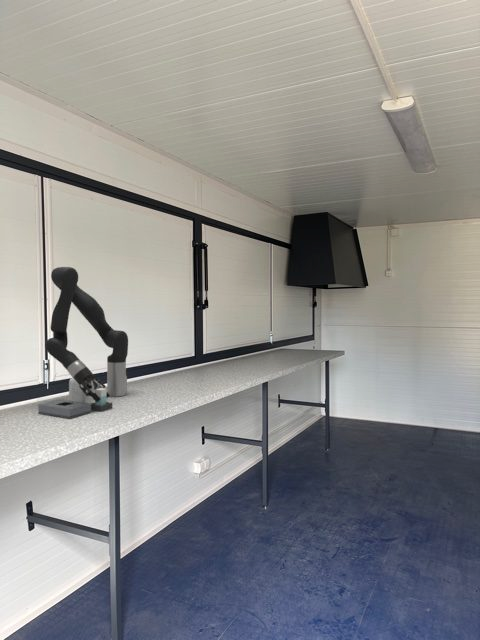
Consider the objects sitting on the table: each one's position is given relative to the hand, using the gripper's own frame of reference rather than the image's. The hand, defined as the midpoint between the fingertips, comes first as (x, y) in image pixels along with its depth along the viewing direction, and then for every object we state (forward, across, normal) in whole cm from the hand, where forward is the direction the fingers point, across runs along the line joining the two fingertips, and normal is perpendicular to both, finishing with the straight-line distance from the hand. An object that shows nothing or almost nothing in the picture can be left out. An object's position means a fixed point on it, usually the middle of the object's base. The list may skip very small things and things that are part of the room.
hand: (103, 398), depth 203 cm
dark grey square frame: (+2, 0, +4) cm, 5 cm away
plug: (+2, 0, +4) cm, 5 cm away
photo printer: (-8, +8, +15) cm, 19 cm away
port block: (-6, -10, +12) cm, 17 cm away
